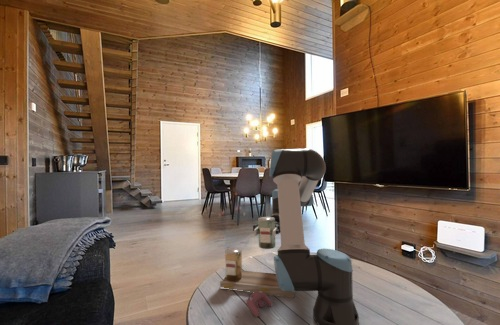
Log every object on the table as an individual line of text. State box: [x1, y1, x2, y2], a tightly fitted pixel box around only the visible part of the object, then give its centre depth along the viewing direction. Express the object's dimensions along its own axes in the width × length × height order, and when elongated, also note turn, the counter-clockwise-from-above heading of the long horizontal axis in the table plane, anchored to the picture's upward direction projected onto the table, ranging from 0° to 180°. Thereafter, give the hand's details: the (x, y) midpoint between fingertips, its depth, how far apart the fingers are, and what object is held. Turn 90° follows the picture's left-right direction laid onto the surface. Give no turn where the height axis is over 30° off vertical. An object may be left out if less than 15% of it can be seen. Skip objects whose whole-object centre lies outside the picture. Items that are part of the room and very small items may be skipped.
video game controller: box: [246, 291, 273, 317], centre depth 95 cm, size 10×5×7 cm, turn 141°
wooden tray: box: [219, 270, 295, 298], centre depth 114 cm, size 16×32×3 cm, turn 76°
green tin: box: [257, 216, 276, 250], centre depth 113 cm, size 8×8×12 cm
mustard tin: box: [224, 247, 243, 281], centre depth 117 cm, size 8×8×12 cm
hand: (263, 233), depth 109 cm, fingers closed on green tin, 7 cm apart
